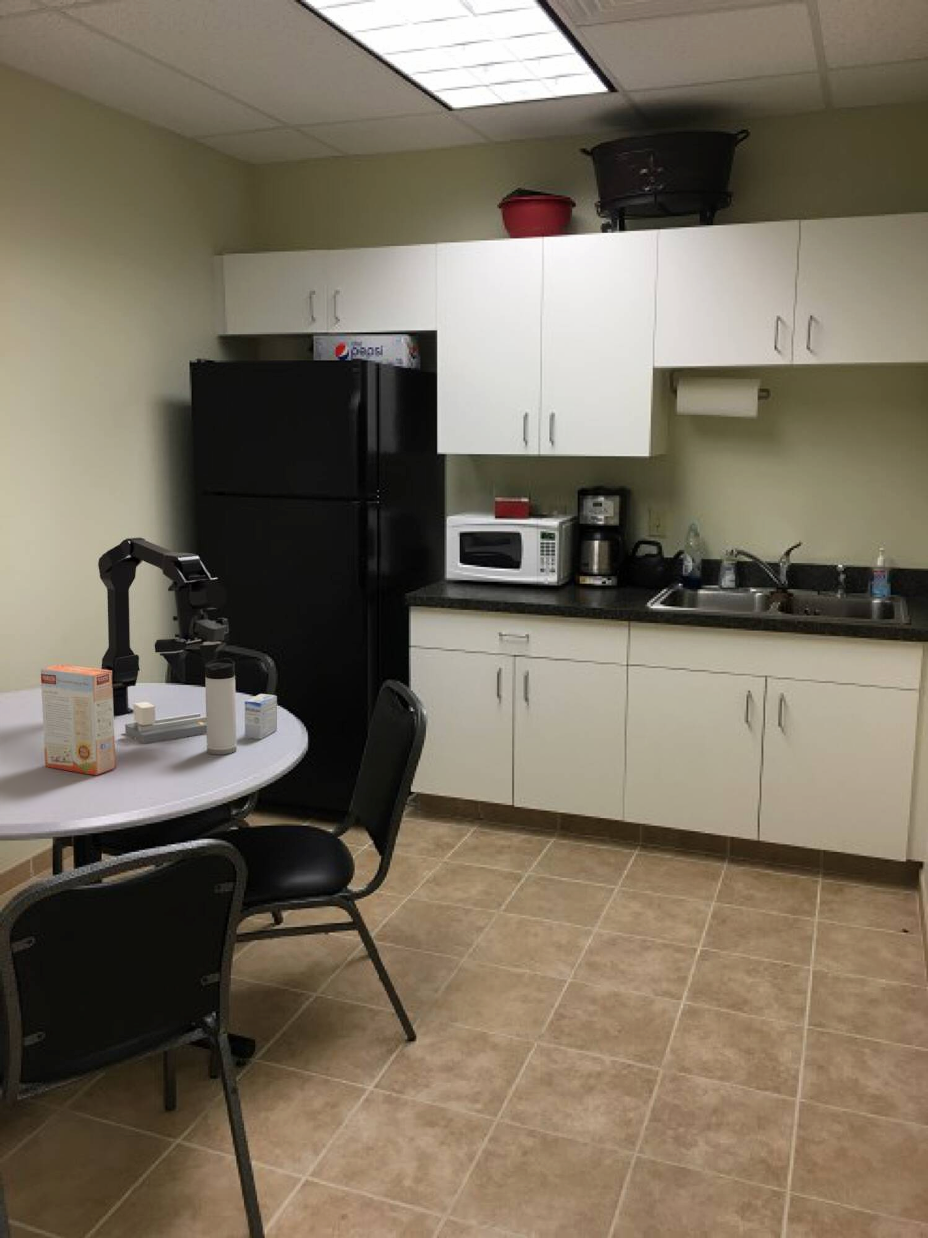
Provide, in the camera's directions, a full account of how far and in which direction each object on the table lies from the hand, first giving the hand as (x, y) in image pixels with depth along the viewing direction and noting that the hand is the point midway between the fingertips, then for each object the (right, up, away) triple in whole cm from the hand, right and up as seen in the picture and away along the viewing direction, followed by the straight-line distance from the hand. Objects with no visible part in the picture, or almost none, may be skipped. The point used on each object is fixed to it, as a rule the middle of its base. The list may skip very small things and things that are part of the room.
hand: (197, 678), depth 243 cm
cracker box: (-18, -17, -23) cm, 34 cm away
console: (-7, -13, +4) cm, 15 cm away
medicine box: (+14, -13, +4) cm, 20 cm away
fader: (-12, -11, 0) cm, 16 cm away
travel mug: (+8, -15, -10) cm, 20 cm away
